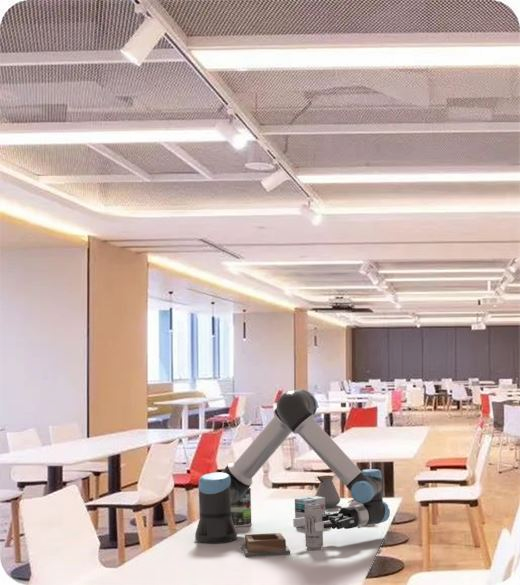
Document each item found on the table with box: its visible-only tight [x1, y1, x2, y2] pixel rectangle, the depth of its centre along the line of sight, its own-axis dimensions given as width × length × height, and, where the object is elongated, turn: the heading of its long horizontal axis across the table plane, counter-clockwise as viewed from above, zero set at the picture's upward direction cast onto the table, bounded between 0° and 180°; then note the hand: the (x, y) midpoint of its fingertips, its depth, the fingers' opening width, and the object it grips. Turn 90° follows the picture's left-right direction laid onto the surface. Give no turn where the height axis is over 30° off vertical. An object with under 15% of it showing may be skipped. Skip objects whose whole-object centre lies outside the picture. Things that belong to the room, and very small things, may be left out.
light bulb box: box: [294, 495, 326, 529], centre depth 384 cm, size 11×7×11 cm, turn 131°
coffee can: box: [231, 487, 252, 528], centre depth 391 cm, size 10×10×14 cm
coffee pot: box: [314, 475, 341, 509], centre depth 424 cm, size 21×12×15 cm, turn 162°
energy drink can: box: [304, 503, 324, 551], centre depth 341 cm, size 6×6×15 cm
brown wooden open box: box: [240, 532, 291, 558], centre depth 338 cm, size 15×15×5 cm
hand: (304, 525), depth 338 cm, fingers open, 11 cm apart
